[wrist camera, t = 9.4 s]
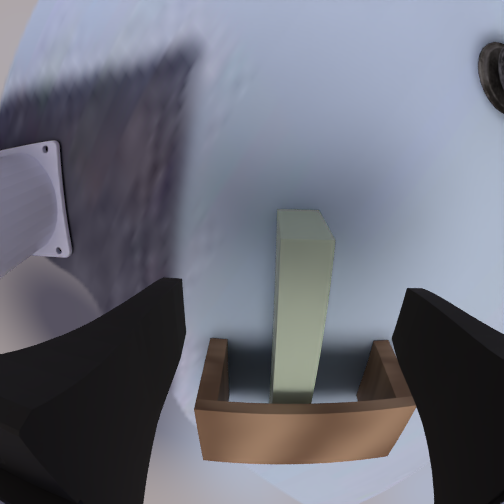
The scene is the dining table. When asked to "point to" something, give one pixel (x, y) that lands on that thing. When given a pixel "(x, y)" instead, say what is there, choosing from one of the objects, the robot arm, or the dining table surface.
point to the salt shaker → (493, 73)
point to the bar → (299, 303)
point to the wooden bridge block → (303, 417)
